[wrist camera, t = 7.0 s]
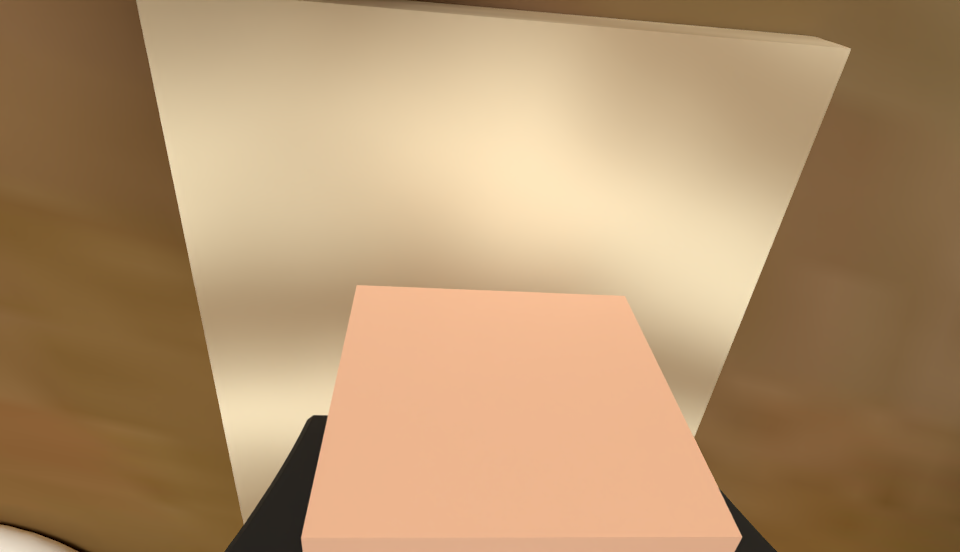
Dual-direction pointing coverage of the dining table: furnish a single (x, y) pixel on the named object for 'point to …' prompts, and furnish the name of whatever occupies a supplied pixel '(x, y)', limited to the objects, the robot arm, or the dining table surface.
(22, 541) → the wine bottle
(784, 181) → the birch board
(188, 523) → the dining table surface
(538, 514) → the peach cube
